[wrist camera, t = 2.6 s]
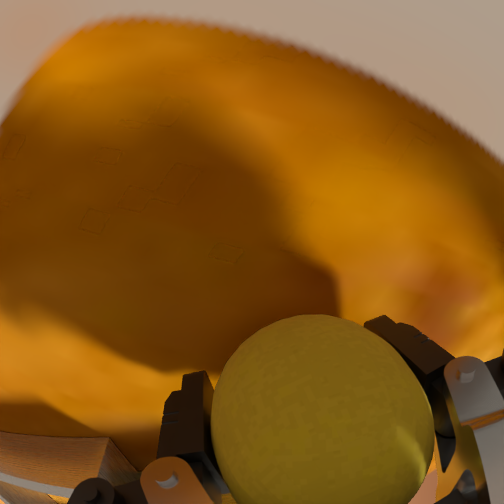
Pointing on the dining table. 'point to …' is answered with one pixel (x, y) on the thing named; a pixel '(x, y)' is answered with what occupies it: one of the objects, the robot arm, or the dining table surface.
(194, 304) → the dining table surface
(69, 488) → the square open box
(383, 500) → the lemon
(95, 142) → the dining table surface
